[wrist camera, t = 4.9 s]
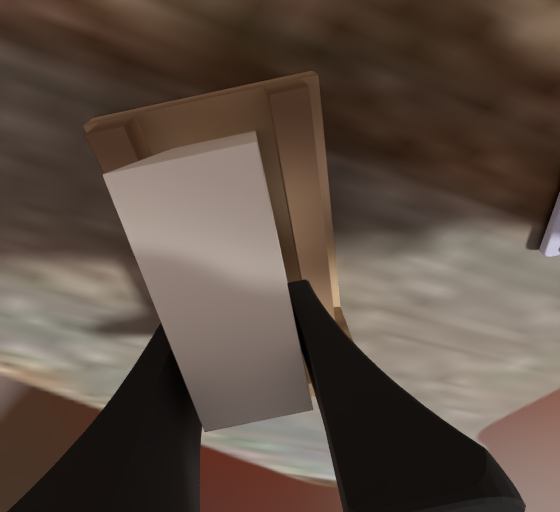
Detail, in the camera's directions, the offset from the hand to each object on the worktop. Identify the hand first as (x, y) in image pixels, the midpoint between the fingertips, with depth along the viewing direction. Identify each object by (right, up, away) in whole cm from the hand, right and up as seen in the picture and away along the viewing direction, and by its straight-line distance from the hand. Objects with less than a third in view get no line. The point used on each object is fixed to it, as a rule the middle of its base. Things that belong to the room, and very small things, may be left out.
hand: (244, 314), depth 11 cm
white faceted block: (-1, +3, +2) cm, 4 cm away
